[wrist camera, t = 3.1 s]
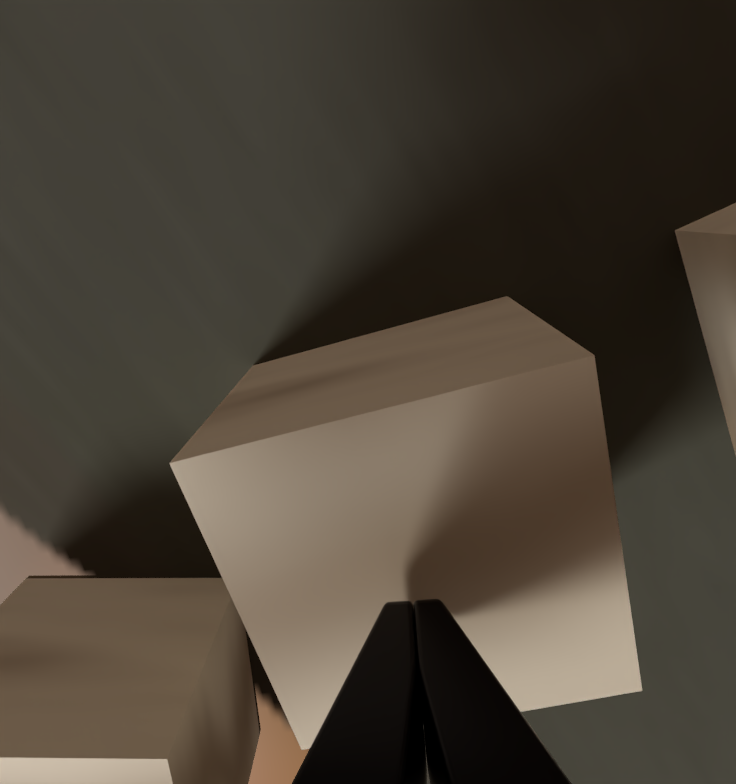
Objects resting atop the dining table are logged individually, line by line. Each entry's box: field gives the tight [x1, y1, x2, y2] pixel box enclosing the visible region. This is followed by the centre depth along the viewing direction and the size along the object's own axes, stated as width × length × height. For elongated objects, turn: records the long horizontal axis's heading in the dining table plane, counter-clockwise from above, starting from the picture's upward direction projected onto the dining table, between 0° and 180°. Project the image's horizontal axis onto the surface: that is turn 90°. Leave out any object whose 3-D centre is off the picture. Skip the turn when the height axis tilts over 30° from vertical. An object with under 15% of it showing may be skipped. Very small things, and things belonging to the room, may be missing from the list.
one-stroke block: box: [0, 575, 261, 784], centre depth 13 cm, size 6×6×5 cm
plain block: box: [169, 296, 642, 750], centre depth 10 cm, size 6×6×5 cm
